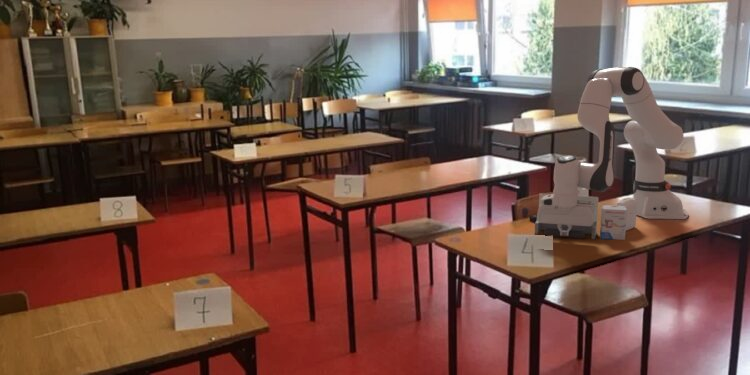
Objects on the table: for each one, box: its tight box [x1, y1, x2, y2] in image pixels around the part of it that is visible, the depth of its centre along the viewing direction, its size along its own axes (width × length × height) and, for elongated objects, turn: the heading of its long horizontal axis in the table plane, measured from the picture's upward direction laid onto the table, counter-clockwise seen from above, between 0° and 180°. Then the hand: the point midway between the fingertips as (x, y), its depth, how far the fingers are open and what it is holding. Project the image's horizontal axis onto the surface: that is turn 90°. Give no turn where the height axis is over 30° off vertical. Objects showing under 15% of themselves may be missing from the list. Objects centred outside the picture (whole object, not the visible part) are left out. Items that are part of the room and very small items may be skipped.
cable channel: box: [534, 221, 598, 240], centre depth 244 cm, size 22×8×4 cm, turn 67°
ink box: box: [599, 204, 627, 241], centre depth 237 cm, size 9×5×12 cm, turn 75°
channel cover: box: [538, 193, 599, 223], centre depth 247 cm, size 22×10×1 cm
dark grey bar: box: [543, 228, 586, 240], centre depth 240 cm, size 15×3×3 cm
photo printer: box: [615, 197, 637, 232], centre depth 246 cm, size 10×4×12 cm, turn 129°
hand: (564, 235), depth 238 cm, fingers closed
